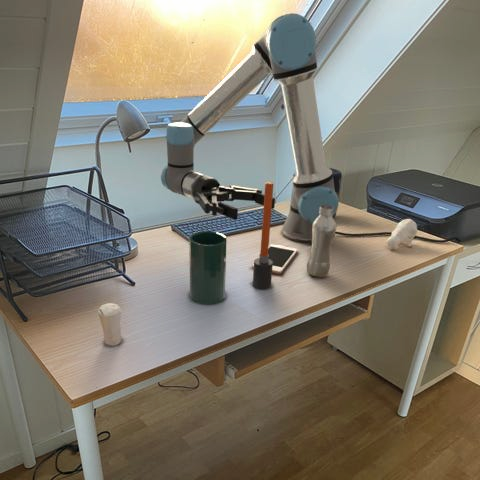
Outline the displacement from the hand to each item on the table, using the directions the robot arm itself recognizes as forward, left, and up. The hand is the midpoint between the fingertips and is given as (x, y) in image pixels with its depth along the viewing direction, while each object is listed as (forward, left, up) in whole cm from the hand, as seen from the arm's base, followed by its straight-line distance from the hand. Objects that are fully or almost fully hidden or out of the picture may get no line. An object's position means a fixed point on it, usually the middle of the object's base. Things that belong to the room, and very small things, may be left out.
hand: (255, 208), depth 122 cm
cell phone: (-12, -11, -21) cm, 26 cm away
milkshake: (+40, +20, -21) cm, 50 cm away
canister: (-45, -43, -21) cm, 65 cm away
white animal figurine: (-56, -11, -21) cm, 60 cm away
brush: (-2, +3, -21) cm, 21 cm away
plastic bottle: (-20, +1, -21) cm, 29 cm away
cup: (+14, +5, -21) cm, 25 cm away
